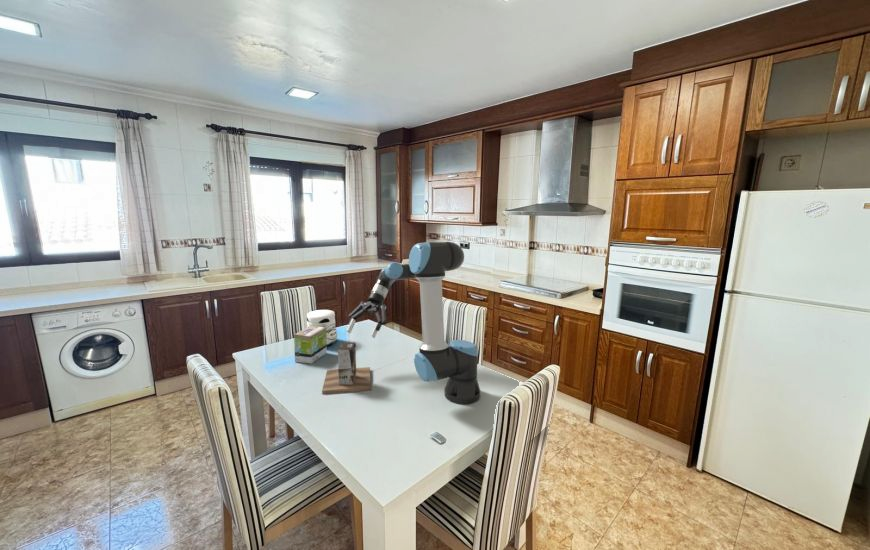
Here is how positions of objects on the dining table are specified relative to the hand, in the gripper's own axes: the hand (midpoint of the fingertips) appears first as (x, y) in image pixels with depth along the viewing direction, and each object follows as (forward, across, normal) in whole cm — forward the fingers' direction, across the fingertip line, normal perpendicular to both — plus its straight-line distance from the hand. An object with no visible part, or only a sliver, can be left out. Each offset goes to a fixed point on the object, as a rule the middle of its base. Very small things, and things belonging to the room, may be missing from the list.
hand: (360, 334), depth 163 cm
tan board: (+20, +1, -8) cm, 21 cm away
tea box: (+11, +35, -18) cm, 40 cm away
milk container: (-2, +44, -30) cm, 53 cm away
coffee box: (+20, 0, -6) cm, 21 cm away
